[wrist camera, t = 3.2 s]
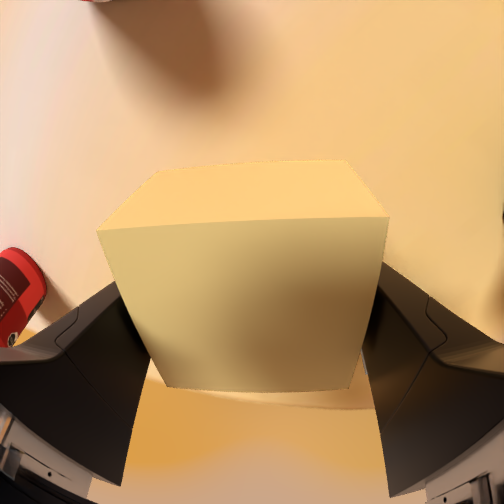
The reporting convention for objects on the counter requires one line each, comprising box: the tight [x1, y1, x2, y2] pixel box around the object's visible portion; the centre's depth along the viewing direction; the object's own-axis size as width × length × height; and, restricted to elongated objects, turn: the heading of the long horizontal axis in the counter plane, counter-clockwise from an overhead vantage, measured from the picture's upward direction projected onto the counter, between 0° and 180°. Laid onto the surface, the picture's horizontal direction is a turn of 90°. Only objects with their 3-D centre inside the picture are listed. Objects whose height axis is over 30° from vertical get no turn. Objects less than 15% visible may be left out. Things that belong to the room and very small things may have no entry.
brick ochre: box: [96, 160, 389, 393], centre depth 9 cm, size 6×6×4 cm
